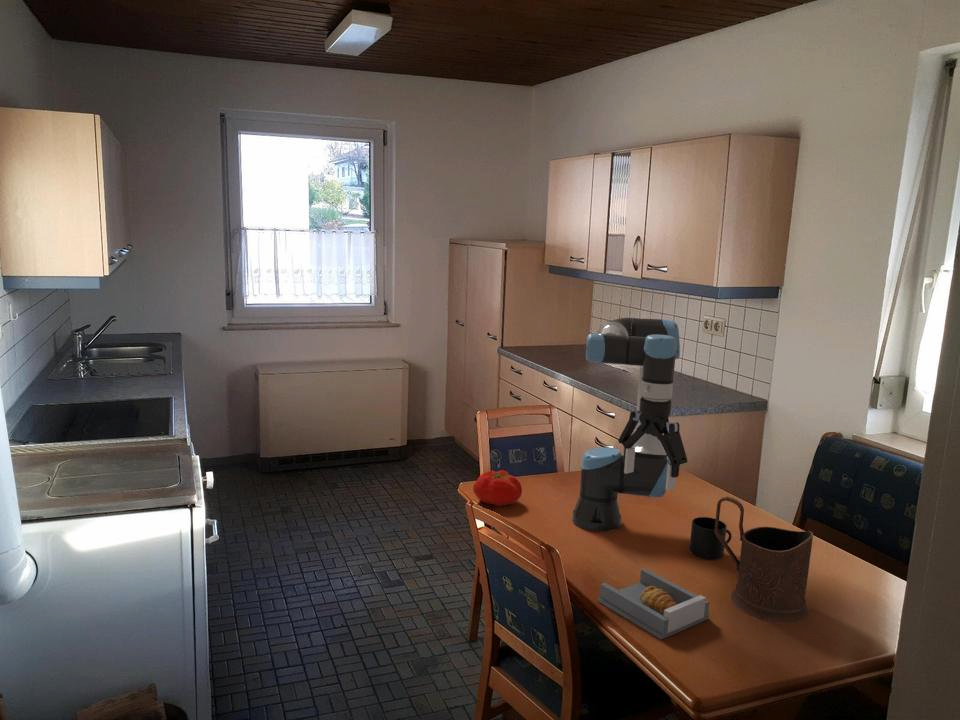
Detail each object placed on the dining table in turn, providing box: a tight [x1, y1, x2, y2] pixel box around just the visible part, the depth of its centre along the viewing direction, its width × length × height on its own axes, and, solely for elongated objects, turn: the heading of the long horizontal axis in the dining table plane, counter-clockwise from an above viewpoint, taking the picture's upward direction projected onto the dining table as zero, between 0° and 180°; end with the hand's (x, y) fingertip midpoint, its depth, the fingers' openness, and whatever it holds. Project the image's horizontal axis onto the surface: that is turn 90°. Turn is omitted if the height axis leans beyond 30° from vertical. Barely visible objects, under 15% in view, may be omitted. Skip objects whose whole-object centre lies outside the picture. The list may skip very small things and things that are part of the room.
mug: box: [689, 516, 732, 561], centre depth 211 cm, size 9×12×9 cm
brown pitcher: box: [714, 496, 814, 625], centre depth 183 cm, size 18×24×25 cm
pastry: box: [640, 586, 677, 615], centre depth 177 cm, size 9×7×4 cm
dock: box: [597, 568, 710, 640], centre depth 178 cm, size 20×17×6 cm
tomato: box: [472, 469, 523, 507], centre depth 243 cm, size 14×16×10 cm
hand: (648, 480), depth 185 cm, fingers open, 13 cm apart
